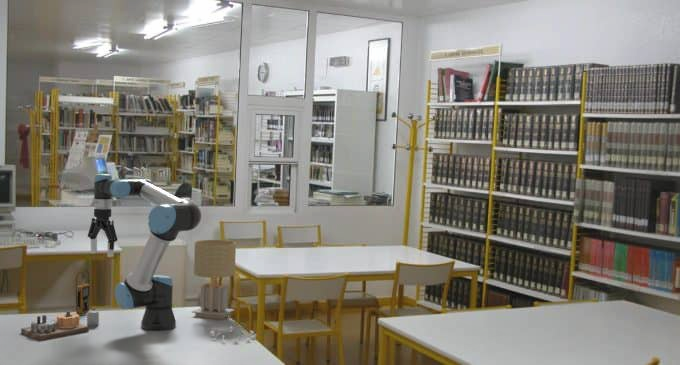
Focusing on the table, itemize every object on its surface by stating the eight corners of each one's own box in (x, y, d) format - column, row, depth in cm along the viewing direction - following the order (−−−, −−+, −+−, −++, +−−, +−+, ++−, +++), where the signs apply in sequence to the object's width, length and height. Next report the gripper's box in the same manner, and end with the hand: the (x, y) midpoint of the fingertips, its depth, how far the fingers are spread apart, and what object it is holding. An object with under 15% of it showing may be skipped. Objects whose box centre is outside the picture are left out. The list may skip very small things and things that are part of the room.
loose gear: (83, 325, 327) (83, 316, 327) (64, 328, 320) (64, 319, 320) (72, 321, 333) (72, 312, 333) (53, 324, 326) (53, 315, 326)
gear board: (88, 331, 325) (88, 313, 325) (40, 340, 308) (40, 321, 308) (68, 324, 336) (69, 306, 335) (21, 333, 319) (21, 314, 318)
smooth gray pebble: (100, 325, 336) (101, 312, 336) (90, 327, 332) (91, 313, 332) (94, 323, 339) (94, 310, 339) (84, 325, 335) (84, 311, 335)
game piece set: (201, 341, 317) (201, 332, 316) (225, 330, 335) (225, 322, 335) (242, 347, 310) (242, 338, 310) (264, 336, 328) (264, 327, 328)
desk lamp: (241, 313, 368) (242, 241, 366) (222, 321, 350) (223, 246, 348) (205, 309, 374) (207, 238, 372) (185, 317, 356) (186, 243, 354)
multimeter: (91, 317, 351) (92, 274, 350) (72, 315, 353) (72, 273, 352) (107, 310, 365) (107, 269, 364) (88, 308, 367) (89, 268, 366)
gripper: (80, 206, 344) (79, 252, 346) (111, 211, 328) (110, 259, 330) (94, 205, 350) (94, 250, 351) (125, 210, 334) (125, 257, 335)
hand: (102, 255), depth 341 cm, fingers open, 13 cm apart
